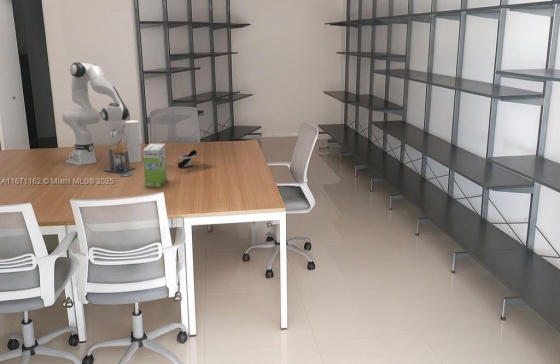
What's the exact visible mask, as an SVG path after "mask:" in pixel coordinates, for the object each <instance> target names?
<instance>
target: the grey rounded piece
mask: <svg viewBox="0 0 560 364" xmlns="http://www.w3.org/2000/svg"><path fill="white" fill-rule="evenodd" d="M118 176H119V177H121V178H130V177H132V176H134V173H133V172H130V171H129V172H126V173H121V174H118Z"/></svg>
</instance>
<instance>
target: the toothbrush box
mask: <svg viewBox="0 0 560 364" xmlns="http://www.w3.org/2000/svg"><path fill="white" fill-rule="evenodd" d="M166 151H167V149H166V143H149V144H148V145H147V146H146V147H144V149H143V150H142V153H143V154H142V155H143V174H144V176H143V177H144V187H145V188H161V187H163V185H164V184H165V182H166V181H167V180H168V173H167V171H168V170H167V154H166Z"/></svg>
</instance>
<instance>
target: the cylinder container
mask: <svg viewBox="0 0 560 364" xmlns="http://www.w3.org/2000/svg"><path fill="white" fill-rule="evenodd" d="M124 121H125V122H124V124H125V125H124V126H125V136H126V147H127V151H128V156H129V163H140V162H142V161H143V159H142V149H141V148H142V147H141V146H142V145H141V135H140V133H141V132H140V126H139V125H140V123H139V120H134V119H133V120H124Z"/></svg>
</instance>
